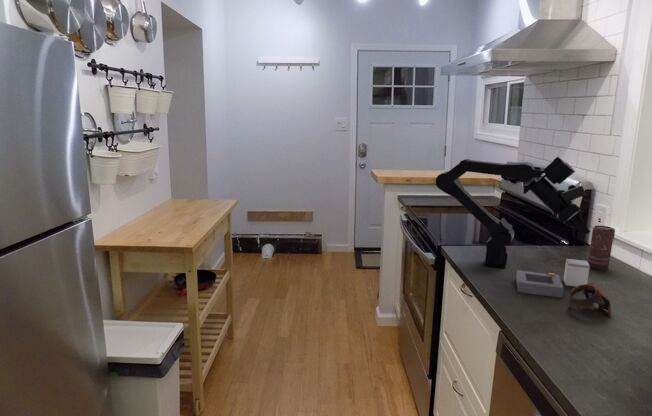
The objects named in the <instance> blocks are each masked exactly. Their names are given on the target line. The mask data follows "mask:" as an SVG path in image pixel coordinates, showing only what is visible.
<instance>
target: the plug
mask: <svg viewBox="0 0 652 416" xmlns="http://www.w3.org/2000/svg"><path fill="white" fill-rule="evenodd" d="M590 269H591V268H590V265H589V264H588V260H582V259H570V258H566V259H565V266H564V272H563V273H564V274H563V283H564V285H565V286H571V287H577V286H580V285H583V284H588V279H589V274H590Z"/></svg>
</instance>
